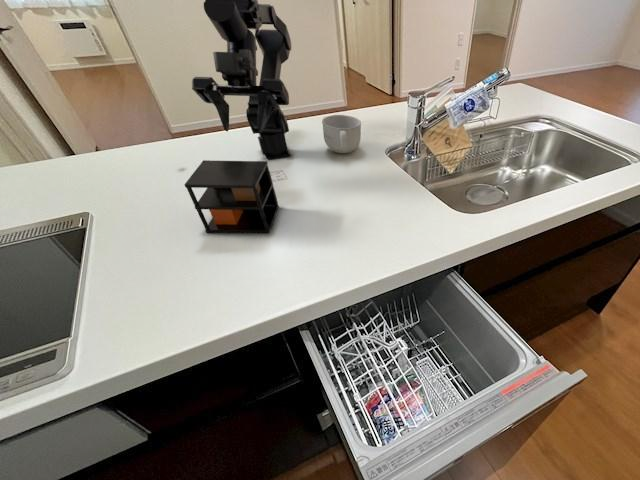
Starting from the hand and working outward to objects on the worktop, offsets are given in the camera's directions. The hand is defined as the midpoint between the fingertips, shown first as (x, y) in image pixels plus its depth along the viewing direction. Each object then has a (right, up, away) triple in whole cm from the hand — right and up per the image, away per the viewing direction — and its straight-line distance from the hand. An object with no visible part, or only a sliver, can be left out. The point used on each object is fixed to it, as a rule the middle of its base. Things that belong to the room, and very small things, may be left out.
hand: (242, 130), depth 75 cm
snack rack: (0, -19, +1) cm, 19 cm away
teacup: (+18, +6, +26) cm, 32 cm away
